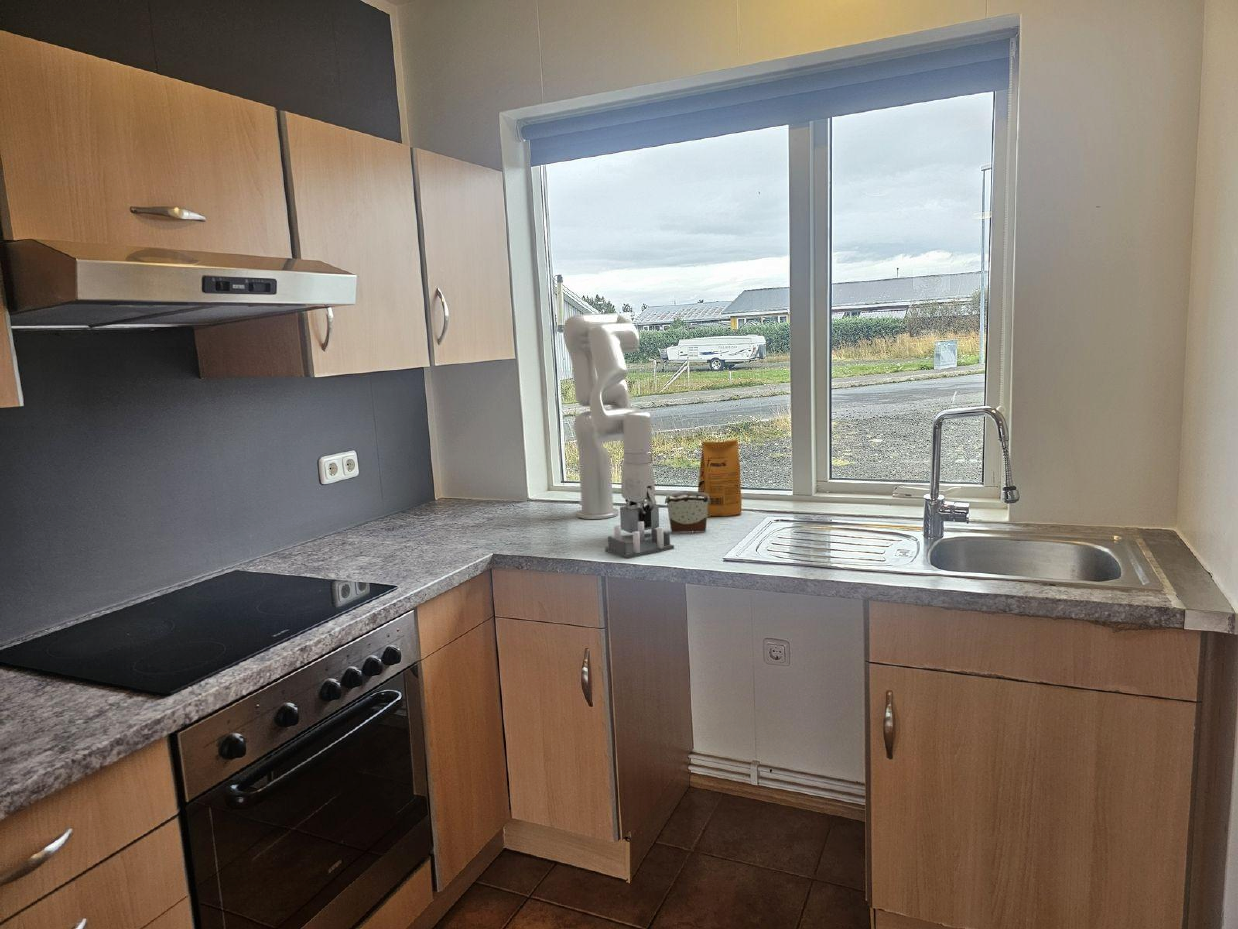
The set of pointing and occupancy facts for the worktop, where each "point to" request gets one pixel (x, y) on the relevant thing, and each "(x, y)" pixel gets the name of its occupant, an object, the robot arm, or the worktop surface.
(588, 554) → the worktop surface
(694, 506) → the food container
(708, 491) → the coffee package
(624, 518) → the block
